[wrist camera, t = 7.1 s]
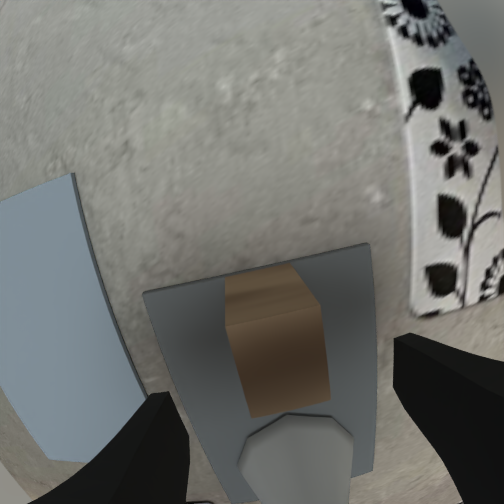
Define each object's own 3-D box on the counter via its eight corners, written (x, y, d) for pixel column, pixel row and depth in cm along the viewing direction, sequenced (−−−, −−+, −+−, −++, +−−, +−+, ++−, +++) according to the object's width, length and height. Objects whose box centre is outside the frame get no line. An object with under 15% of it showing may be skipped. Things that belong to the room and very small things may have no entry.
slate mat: (178, 456, 18) (178, 461, 17) (50, 455, 17) (49, 459, 17) (74, 173, 13) (70, 173, 13) (-55, 230, 13) (-59, 231, 13)
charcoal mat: (370, 467, 20) (394, 517, 14) (231, 500, 19) (235, 555, 14) (366, 242, 15) (427, 275, 10) (143, 291, 15) (108, 346, 10)
